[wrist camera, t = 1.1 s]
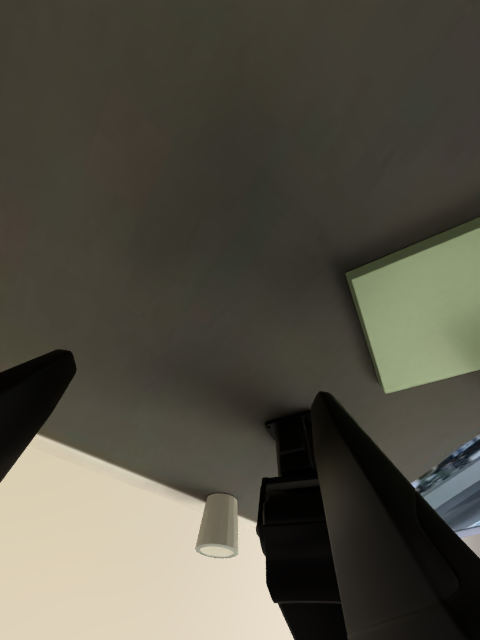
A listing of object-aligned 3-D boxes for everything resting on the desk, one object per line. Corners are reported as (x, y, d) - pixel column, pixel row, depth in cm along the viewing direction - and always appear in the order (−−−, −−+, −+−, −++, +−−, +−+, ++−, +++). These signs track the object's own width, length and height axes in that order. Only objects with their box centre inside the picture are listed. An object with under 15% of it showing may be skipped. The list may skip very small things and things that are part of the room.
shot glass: (195, 497, 43) (186, 548, 37) (224, 488, 40) (218, 542, 34) (220, 510, 46) (214, 561, 40) (248, 503, 43) (246, 556, 37)
